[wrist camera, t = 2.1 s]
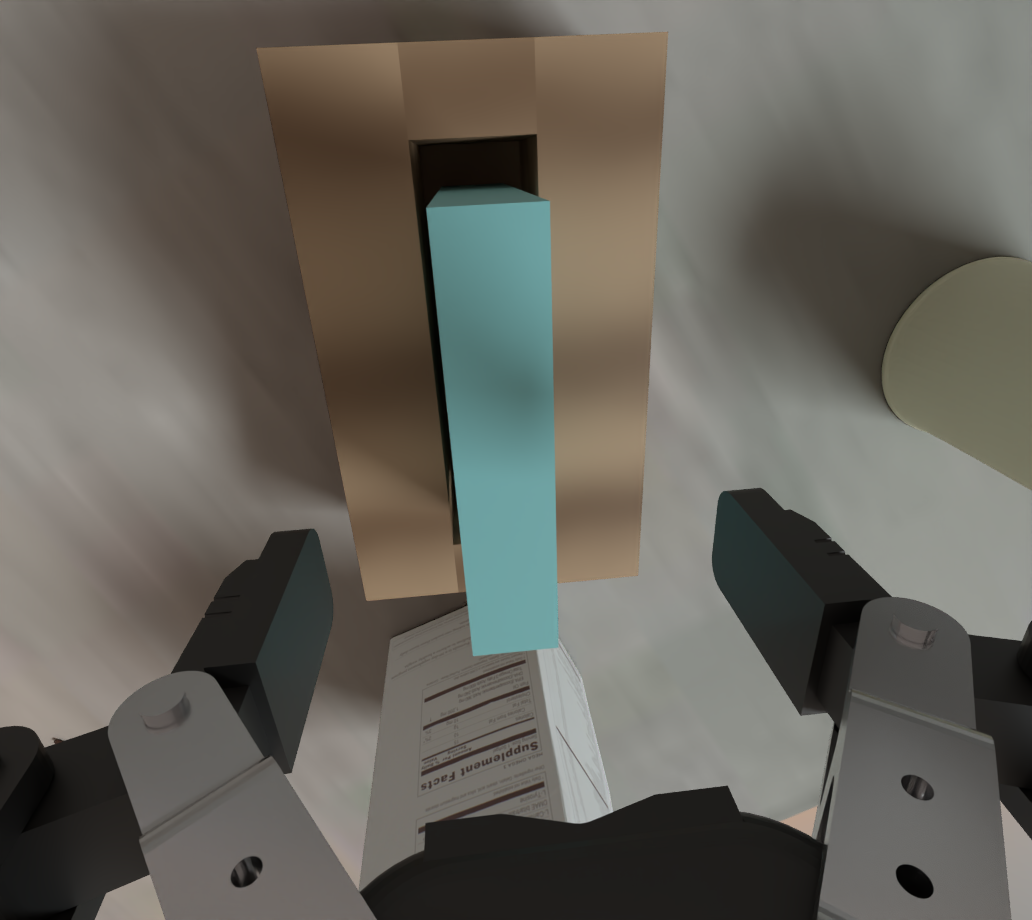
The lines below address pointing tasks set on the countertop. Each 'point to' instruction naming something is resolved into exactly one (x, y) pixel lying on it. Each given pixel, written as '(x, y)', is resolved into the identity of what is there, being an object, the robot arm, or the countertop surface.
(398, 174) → the slot box
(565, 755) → the supplement box
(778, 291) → the countertop surface
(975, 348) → the can
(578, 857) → the robot arm
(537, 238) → the cover plate
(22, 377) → the countertop surface
